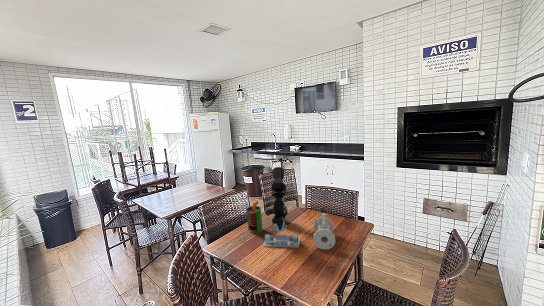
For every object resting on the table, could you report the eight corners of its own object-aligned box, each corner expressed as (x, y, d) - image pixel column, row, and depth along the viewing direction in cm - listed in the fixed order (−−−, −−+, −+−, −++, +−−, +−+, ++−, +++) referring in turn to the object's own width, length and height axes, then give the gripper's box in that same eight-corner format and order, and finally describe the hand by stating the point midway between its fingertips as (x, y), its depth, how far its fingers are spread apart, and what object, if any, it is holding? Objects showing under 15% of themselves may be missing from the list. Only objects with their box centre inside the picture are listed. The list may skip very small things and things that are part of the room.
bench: (266, 239, 138) (265, 232, 137) (299, 240, 133) (299, 233, 133) (263, 246, 130) (262, 238, 129) (298, 247, 126) (298, 240, 125)
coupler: (275, 227, 133) (274, 220, 133) (287, 227, 132) (287, 220, 131) (273, 231, 129) (273, 224, 128) (286, 231, 127) (286, 224, 127)
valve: (335, 250, 121) (335, 224, 119) (313, 249, 124) (312, 224, 121) (333, 230, 142) (332, 208, 140) (314, 229, 145) (313, 208, 143)
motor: (245, 232, 148) (243, 203, 145) (252, 226, 156) (250, 199, 153) (258, 234, 143) (256, 205, 140) (265, 228, 151) (263, 200, 148)
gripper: (268, 197, 139) (270, 220, 141) (262, 209, 120) (264, 235, 123) (286, 197, 136) (287, 220, 139) (282, 209, 118) (283, 236, 121)
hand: (280, 228), depth 130 cm, fingers closed on coupler, 4 cm apart
